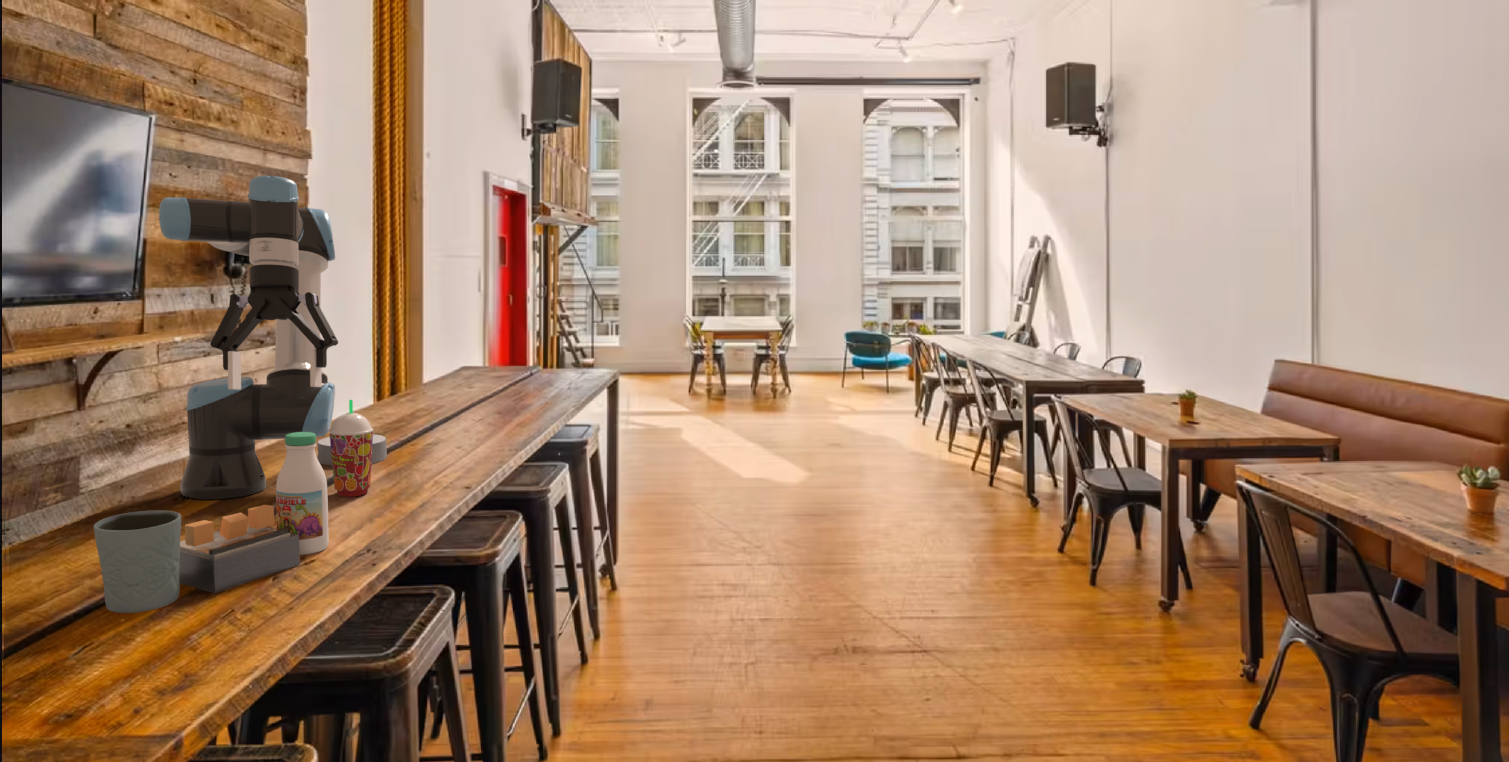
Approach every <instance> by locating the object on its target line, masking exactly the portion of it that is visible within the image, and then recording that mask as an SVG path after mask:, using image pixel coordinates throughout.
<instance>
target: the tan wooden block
mask: <svg viewBox="0 0 1509 762" xmlns="http://www.w3.org/2000/svg"><path fill="white" fill-rule="evenodd" d="M274 507H275V506H273V505H269V504H262V505H258V506H254V507H251V508H247V517H249V523H248V525H249V527H250V528H254V529H259V528H263V527H269V526H275V508H274Z"/></svg>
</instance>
